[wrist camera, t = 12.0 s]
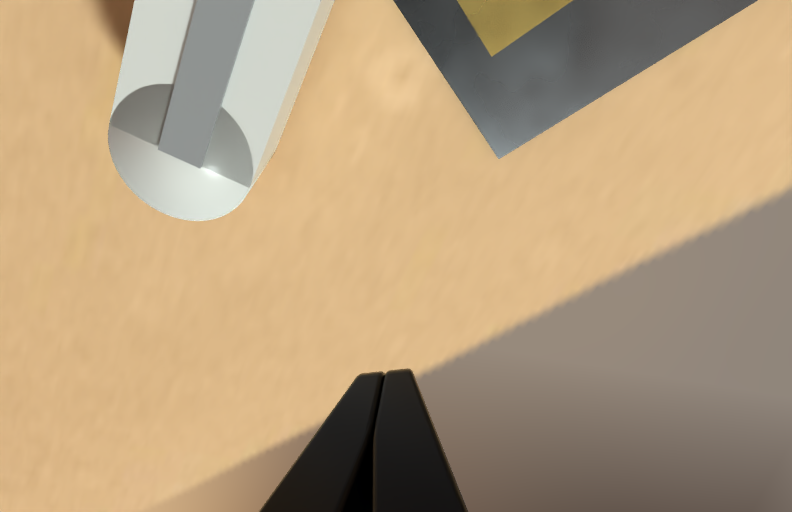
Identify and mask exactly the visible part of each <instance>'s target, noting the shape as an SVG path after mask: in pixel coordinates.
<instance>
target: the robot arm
mask: <svg viewBox="0 0 792 512" xmlns="http://www.w3.org/2000/svg"><path fill="white" fill-rule="evenodd" d="M259 512H468V510H467V508H466V505H465V502H464V500H463V497H462V495H461V492H460V490H459V488H458V485H457V483H456V480H455V477H454V475H453V472H452V470H451V467H450V465H449V462H448V460H447V457H446V455H445V452H444V449H443V447H442V444H441V442H440V440H439V437H438V434H437V432H436V429H435V427H434V424H433V422H432V420H431V417H430V414H429V412H428V409H427V407H426V404H425V402H424V399H423V397H422V394H421V392H420V389H419V386H418V384H417V381H416V379H415V376H414V374H413V372H412V370H411V369H399V370H390V371H388V372H387V373H386V374H385V373H383V372H371V373H363V374H360V375H359V376H357V377H356V379H355V380H354V381H353V383H352V384H351V386H350V387H349V388H348V390H347V391H346V392H345V394H344V395H343V397H342V398H341V399H340V401H339V402H338V403H337V405H336V406H335V408H334V409H333V410H332V412H331V413H330V414H329V416H328V417H327V419H326V420H325V421H324V423H323V424H322V426H321V427H320V428H319V430H318V431H317V432H316V434H315V435H314V437H313V438H312V439H311V441H310V442H309V444H308V445H307V446H306V448H305V449H304V451H303V452H302V453H301V455H300V456H299V457H298V459H297V460H296V462H295V463H294V464H293V466H292V467H291V468H290V470H289V471H288V472H287V474H286V475H285V477H284V478H283V479H282V481H281V482H280V484H279V485H278V486H277V488H276V489H275V491H274V492H273V493H272V495H271V496H270V497H269V499H268V500H267V501H266V503H265V504H264V506H263V507H262V508H261V510H260V511H259Z"/></svg>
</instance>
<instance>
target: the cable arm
mask: <svg viewBox="0 0 792 512" xmlns="http://www.w3.org/2000/svg"><path fill="white" fill-rule="evenodd" d="M334 1H335V0H134V5H133V10H132V15H131V20H130V25H129V30H128V35H127V40H126V45H125V49H124V54H123V59H122V64H121V69H120V74H119V79H118V84H117V89H116V94H115V98H114V103H113V108H112V113H111V118H110V123H109V130H108V143H109V149H110V153H111V157H112V160H113V162H114V165H115V167H116V169H117V171H118V173H119V174H120V176H121V178H122V179H123V180H124V182H125V183H126V185H127V186H128V187H129V188H130V189H131V190H132V191H133V192H134V193H135V194H136V195H137V196H138V197H139V198H140V199H141V200H143V201H144V202H145V203H147V204H148V205H149V206H151V207H153V208H154V209H156V210H158V211H160V212H162V213H164V214H167V215H169V216H172V217H175V218H179V219H183V220H190V221H205V220H211V219H216V218H219V217H221V216H224V215H226V214H228V213H229V212H231V211H232V210H234V209H235V208H236V207H237V206H238V205H239V204H240V203H241V202H242V201H243V200H244V198H245V197H246V195H247V194H248V192H249V191H250V189H251V188H252V186H253V185H254V183H255V182H256V180H257V179H258V177H259V176H260V174H261V173H262V171H263V170H264V168H265V167H266V165H267V164H268V162H269V161H270V160H271V158H272V157H273V155H274V153H275V151H276V149H277V146H278V143H279V141H280V138H281V136H282V133H283V131H284V128H285V126H286V123H287V121H288V118H289V115H290V113H291V110H292V108H293V105H294V103H295V100H296V98H297V95H298V93H299V90H300V87H301V85H302V82H303V80H304V77H305V75H306V72H307V70H308V67H309V65H310V62H311V59H312V57H313V54H314V52H315V49H316V47H317V44H318V42H319V39H320V37H321V34H322V31H323V29H324V26H325V24H326V21H327V19H328V16H329V14H330V11H331V9H332V6H333V3H334Z"/></svg>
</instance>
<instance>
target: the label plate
mask: <svg viewBox="0 0 792 512" xmlns="http://www.w3.org/2000/svg"><path fill="white" fill-rule="evenodd" d="M756 1H757V0H394V2H395V3H396V5H397V6H398V8H399V9H400V11H401V12H402V14H403V15H404V17H405V18H406V20H407V22H408V23H409V25H410V26H411V28H412V29H413V31H414V32H415V34H416V35H417V37H418V38H419V40H420V41H421V43H422V44H423V46H424V47H425V49H426V50H427V52H428V53H429V55H430V56H431V58H432V59H433V61H434V62H435V64H436V65H437V67H438V68H439V70H440V71H441V73H442V74H443V76H444V77H445V79H446V80H447V82H448V83H449V85H450V86H451V88H452V89H453V91H454V92H455V94H456V95H457V97H458V98H459V100H460V101H461V103H462V104H463V106H464V107H465V109H466V110H467V112H468V113H469V115H470V116H471V118H472V119H473V121H474V122H475V124H476V125H477V127H478V129H479V130H480V132H481V133H482V135H483V136H484V138H485V139H486V141H487V142H488V144H489V145H490V147H491V148H492V150H493V151H494V153H495V154H496V156H497V157H498V159H500V158H501V157H503V156H505V155H506V154H508V153H510V152H511V151H513V150H514V149H516V148H518V147H519V146H521V145H523V144H524V143H526V142H528V141H529V140H531V139H532V138H534V137H536V136H537V135H539V134H541V133H542V132H544V131H545V130H547V129H549V128H550V127H552V126H554V125H555V124H557V123H558V122H560V121H562V120H563V119H565V118H567V117H568V116H570V115H572V114H573V113H575V112H576V111H578V110H580V109H581V108H583V107H585V106H586V105H588V104H589V103H591V102H593V101H594V100H596V99H598V98H599V97H601V96H603V95H604V94H606V93H607V92H609V91H611V90H612V89H614V88H616V87H617V86H619V85H620V84H622V83H624V82H625V81H627V80H629V79H630V78H632V77H634V76H635V75H637V74H638V73H640V72H642V71H643V70H645V69H647V68H648V67H650V66H651V65H653V64H655V63H656V62H658V61H660V60H661V59H663V58H665V57H666V56H668V55H669V54H671V53H673V52H674V51H676V50H678V49H679V48H681V47H682V46H684V45H686V44H687V43H689V42H691V41H692V40H694V39H695V38H697V37H699V36H700V35H702V34H704V33H705V32H707V31H709V30H710V29H712V28H713V27H715V26H717V25H718V24H720V23H722V22H723V21H725V20H726V19H728V18H730V17H731V16H733V15H735V14H736V13H738V12H740V11H741V10H743V9H744V8H746V7H748V6H749V5H751V4H753V3H754V2H756Z"/></svg>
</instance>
